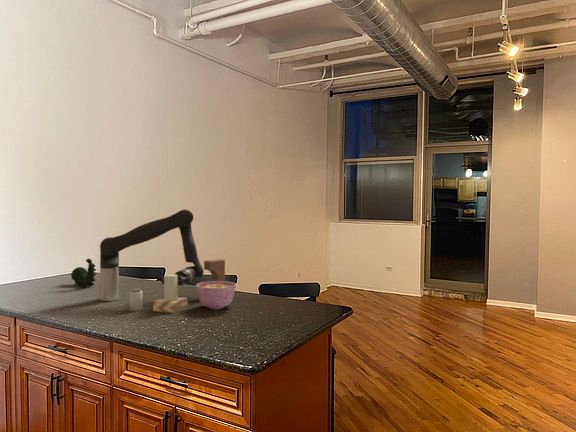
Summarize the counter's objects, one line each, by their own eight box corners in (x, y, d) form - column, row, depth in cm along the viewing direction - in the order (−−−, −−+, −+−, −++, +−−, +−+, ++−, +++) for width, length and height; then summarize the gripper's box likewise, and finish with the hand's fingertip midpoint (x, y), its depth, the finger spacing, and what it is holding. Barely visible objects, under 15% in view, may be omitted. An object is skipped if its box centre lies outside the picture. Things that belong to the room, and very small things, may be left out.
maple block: (152, 311, 207) (153, 301, 207) (166, 306, 219) (166, 296, 219) (175, 313, 204) (175, 303, 204) (187, 307, 216) (187, 298, 216)
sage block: (164, 300, 209) (164, 276, 209) (167, 298, 214) (167, 274, 214) (174, 300, 209) (174, 276, 208) (177, 298, 214) (177, 274, 213)
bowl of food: (220, 300, 230) (220, 279, 230) (244, 307, 216) (244, 284, 216) (188, 306, 216) (188, 284, 216) (210, 314, 202) (210, 290, 202)
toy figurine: (99, 289, 264) (81, 281, 280) (100, 259, 262) (82, 252, 278) (83, 292, 257) (66, 283, 273) (85, 261, 255) (67, 253, 271)
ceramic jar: (127, 310, 207) (127, 290, 207) (133, 307, 213) (133, 287, 213) (139, 311, 206) (139, 290, 206) (144, 308, 212) (144, 288, 212)
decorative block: (209, 297, 238) (209, 261, 238) (203, 296, 242) (203, 260, 242) (225, 294, 246) (225, 260, 246) (219, 293, 250) (219, 259, 249)
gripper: (170, 269, 229) (157, 274, 213) (196, 270, 227) (185, 275, 211) (170, 283, 229) (157, 289, 213) (196, 284, 227) (184, 290, 211)
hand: (171, 282), depth 212 cm, fingers open, 8 cm apart
